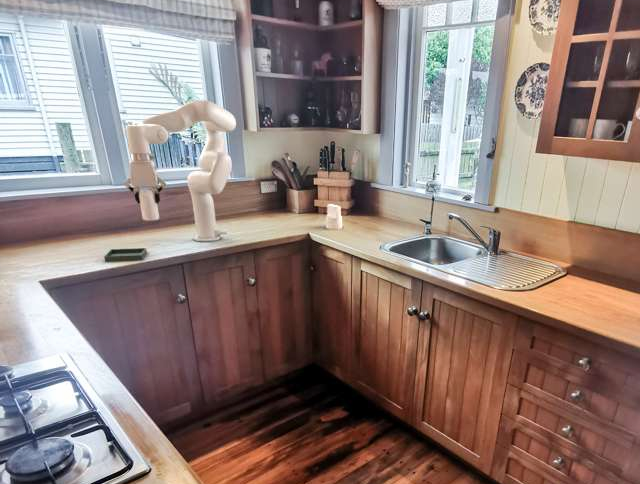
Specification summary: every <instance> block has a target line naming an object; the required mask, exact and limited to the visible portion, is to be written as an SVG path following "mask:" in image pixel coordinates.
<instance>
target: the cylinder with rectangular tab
mask: <svg viewBox="0 0 640 484" xmlns="http://www.w3.org/2000/svg"><path fill="white" fill-rule="evenodd" d="M326 208H327V209H326V215H325V228H326V229H328V230H340V229H341V230H342V228H343V216H342V211H341V210H342V207H341V205H337V204H333V203H329V204H327V205H326Z"/></svg>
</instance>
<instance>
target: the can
mask: <svg viewBox="0 0 640 484" xmlns="http://www.w3.org/2000/svg"><path fill="white" fill-rule="evenodd" d="M138 193H139V200H140V203H139V205H140V211H141V212H140V213H141V217H142V220H143V221H145V222H155V221H158V220H159V219H160V214H159V207H158V203H156V199H155V191H154V189H140V190H138Z"/></svg>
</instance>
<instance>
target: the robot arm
mask: <svg viewBox="0 0 640 484" xmlns="http://www.w3.org/2000/svg"><path fill="white" fill-rule="evenodd" d="M199 122H202V126H203V128H204V131H205V134H206V141H205V144H204V146H203V148H202V151H201V152H200V156H199V158H198V166H199V168H200V169H201V170H202V171H201V170H194V171H192V172H190V173H189V174H188V176H187V178H186V179H187V187H188V190H189V193H190V197H191V203H192V209H193V217H194V218H193V219H194V225H195V232H196V234H194V235H193V240H194V241H197V242H215V241H218V240H221V238H222V236H227V234H228V233H227V230H225V229H224V230H223V229H221V230H220V229H219V228H218V227H217V221H216V220H217V219H216V212H215V203H214V199H213V197H212V195H219V194H221V193H222V192H223V190H224V188H225V186H226V184H227V181H228V179H229V176H230V174H231V172H232V168H233V163H232V157H231V156H230V155H229V154H228V153H226V152H224V151H225V149H226V148H225V147H226V142H225V139H224V136H223V133H231V132H233V131H234V130H235V129H236V126H237V120H236V118H235V116H234V115H233V114H232V113H231V112H230V111H228V110H227V109H225V108H224V107H222V106H220V105H218V104H216V103H215V102H213V101H211V100H203V99H202V100H199V99H195V100H190V101H187V102H186V103H184V104H182V105H180V106H178V107H177V108H176V107H175V109H173V110H171V111H167V112H163V113H160V114H157V115H154V116H151V117H149V118H146V119H145V120H143V121H140V122H139V123H138V124H128V125H126V126H125V133H126V140H127V145H128V150H129V151H128V152H129V156H130V161H129V178H128V179H127V180H126V181H125V182H124V184H123V185H124V186H125V188H127V189H128V190H129V191H130V192H132V194H133V195H134V199H135V202H136V203H137V204H138V205H140V200H139V189H140V188H151V189H152V190H154V193H155V199H156V203H157V204H159V203H160V202H161V197H160V192H162V190H163V189H164V188H165V187H166V184H167V183H166V182H165V181H164V180H163V179H161V178H160V177H159V176H158V171H157V167H156V164H155V161H153V159H154V160H155V159H156V156H155V155H154V154H152V153H151V149H150V145H151V144H152V145H163V144H165V143H166V142H168V140H169V134H170V133H178V132H184V131H185V130H187V129H189V128H191V127H193V126H194V125H196V124H198V123H199ZM130 184H131V185H130ZM159 185H160V186H159ZM158 186H159V187H158Z"/></svg>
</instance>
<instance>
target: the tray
mask: <svg viewBox="0 0 640 484" xmlns="http://www.w3.org/2000/svg"><path fill="white" fill-rule="evenodd" d="M147 253H148V251H147V247H139V248H138V247H135V248H110V249H109V251H108V252H106V254H105V255H104V261H105V262H124V261H125V262H127V261H143V260H144V258H145V256H146V255H147Z"/></svg>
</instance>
